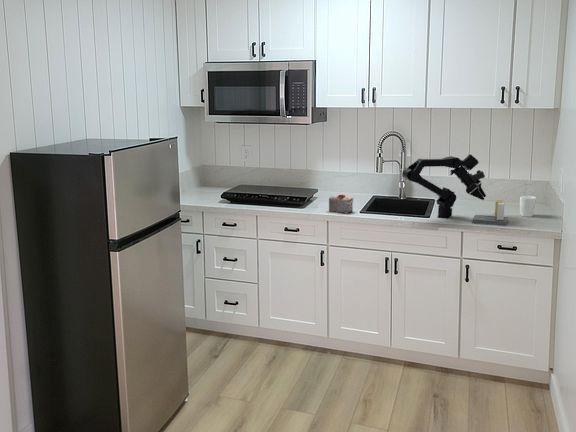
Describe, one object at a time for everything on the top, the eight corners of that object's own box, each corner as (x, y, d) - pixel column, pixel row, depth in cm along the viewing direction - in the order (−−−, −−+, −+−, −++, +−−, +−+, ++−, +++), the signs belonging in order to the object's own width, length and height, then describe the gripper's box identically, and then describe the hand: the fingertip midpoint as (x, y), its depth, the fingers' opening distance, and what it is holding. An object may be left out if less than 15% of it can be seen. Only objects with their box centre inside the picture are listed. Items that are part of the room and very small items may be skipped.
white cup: (536, 215, 314) (538, 196, 311) (531, 217, 308) (532, 199, 306) (521, 213, 319) (523, 195, 316) (516, 215, 313) (517, 197, 311)
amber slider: (494, 216, 301) (495, 201, 299) (495, 215, 304) (496, 200, 303) (500, 217, 300) (501, 202, 298) (501, 215, 303) (502, 200, 301)
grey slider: (496, 219, 295) (497, 204, 293) (497, 218, 298) (498, 202, 297) (502, 220, 294) (504, 204, 292) (503, 218, 297) (504, 203, 295)
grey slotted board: (472, 223, 299) (472, 219, 298) (475, 218, 309) (475, 214, 308) (505, 225, 292) (505, 221, 292) (507, 220, 302) (507, 216, 302)
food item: (354, 211, 332) (355, 194, 329) (350, 214, 325) (350, 196, 322) (332, 209, 337) (332, 192, 335) (327, 212, 330) (327, 195, 328)
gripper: (473, 168, 298) (495, 190, 296) (478, 163, 314) (498, 185, 312) (457, 182, 302) (478, 205, 300) (462, 177, 319) (481, 198, 317)
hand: (484, 198), depth 307 cm, fingers open, 9 cm apart
